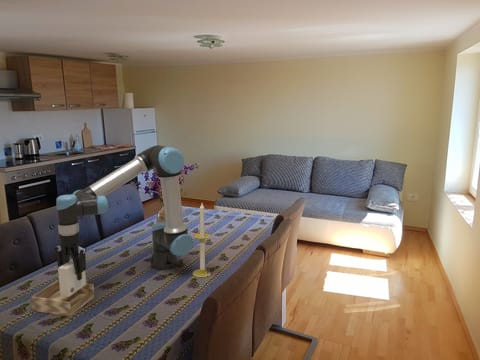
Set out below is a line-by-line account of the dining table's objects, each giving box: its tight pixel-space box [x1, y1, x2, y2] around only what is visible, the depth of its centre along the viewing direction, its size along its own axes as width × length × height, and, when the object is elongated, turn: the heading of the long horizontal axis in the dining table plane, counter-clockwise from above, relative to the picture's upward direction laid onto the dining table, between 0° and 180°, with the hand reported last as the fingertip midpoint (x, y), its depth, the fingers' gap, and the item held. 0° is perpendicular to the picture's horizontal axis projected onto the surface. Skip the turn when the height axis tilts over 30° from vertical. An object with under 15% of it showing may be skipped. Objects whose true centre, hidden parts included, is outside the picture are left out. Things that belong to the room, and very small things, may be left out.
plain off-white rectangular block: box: [57, 258, 87, 297], centre depth 152 cm, size 4×11×12 cm, turn 167°
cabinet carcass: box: [30, 279, 95, 317], centre depth 155 cm, size 18×16×6 cm
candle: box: [192, 203, 211, 278], centre depth 182 cm, size 10×10×38 cm
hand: (73, 286), depth 153 cm, fingers closed on plain off-white rectangular block, 4 cm apart
